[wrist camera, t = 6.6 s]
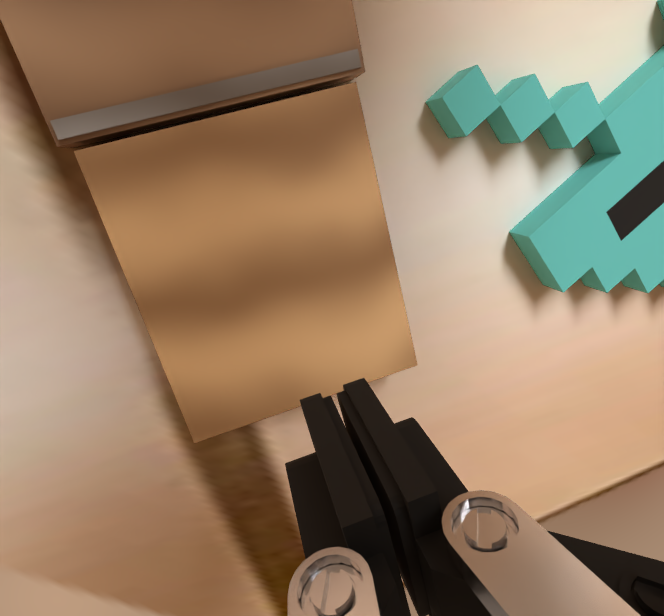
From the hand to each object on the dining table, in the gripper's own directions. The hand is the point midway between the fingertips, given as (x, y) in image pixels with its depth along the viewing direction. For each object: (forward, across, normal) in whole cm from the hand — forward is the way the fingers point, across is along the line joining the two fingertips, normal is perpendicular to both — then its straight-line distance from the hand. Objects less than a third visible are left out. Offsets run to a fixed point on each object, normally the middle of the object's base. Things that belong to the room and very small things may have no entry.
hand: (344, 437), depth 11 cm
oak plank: (+13, 0, -1) cm, 13 cm away
